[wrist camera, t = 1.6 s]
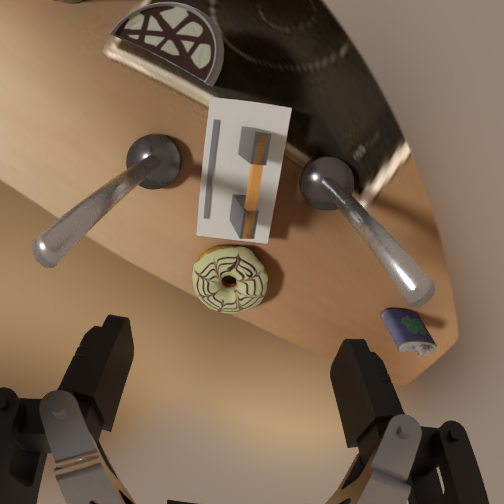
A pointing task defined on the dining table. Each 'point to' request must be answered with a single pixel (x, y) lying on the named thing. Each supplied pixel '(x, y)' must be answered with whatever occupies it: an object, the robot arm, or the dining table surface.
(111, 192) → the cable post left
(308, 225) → the dining table surface
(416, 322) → the flask
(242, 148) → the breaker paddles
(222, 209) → the switch panel
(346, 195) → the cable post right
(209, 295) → the decorated donut
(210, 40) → the food container
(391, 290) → the dining table surface
